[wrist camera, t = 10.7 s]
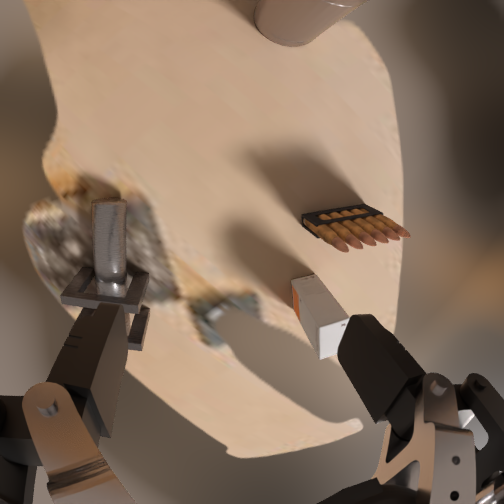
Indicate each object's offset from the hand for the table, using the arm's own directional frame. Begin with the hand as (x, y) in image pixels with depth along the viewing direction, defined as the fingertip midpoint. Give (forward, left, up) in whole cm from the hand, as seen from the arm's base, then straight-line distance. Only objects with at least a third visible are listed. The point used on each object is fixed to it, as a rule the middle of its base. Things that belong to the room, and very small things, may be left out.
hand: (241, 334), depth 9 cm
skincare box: (+14, +16, -28) cm, 35 cm away
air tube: (+12, -13, -28) cm, 33 cm away
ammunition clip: (+1, +18, -28) cm, 34 cm away
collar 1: (+13, -13, -28) cm, 34 cm away
